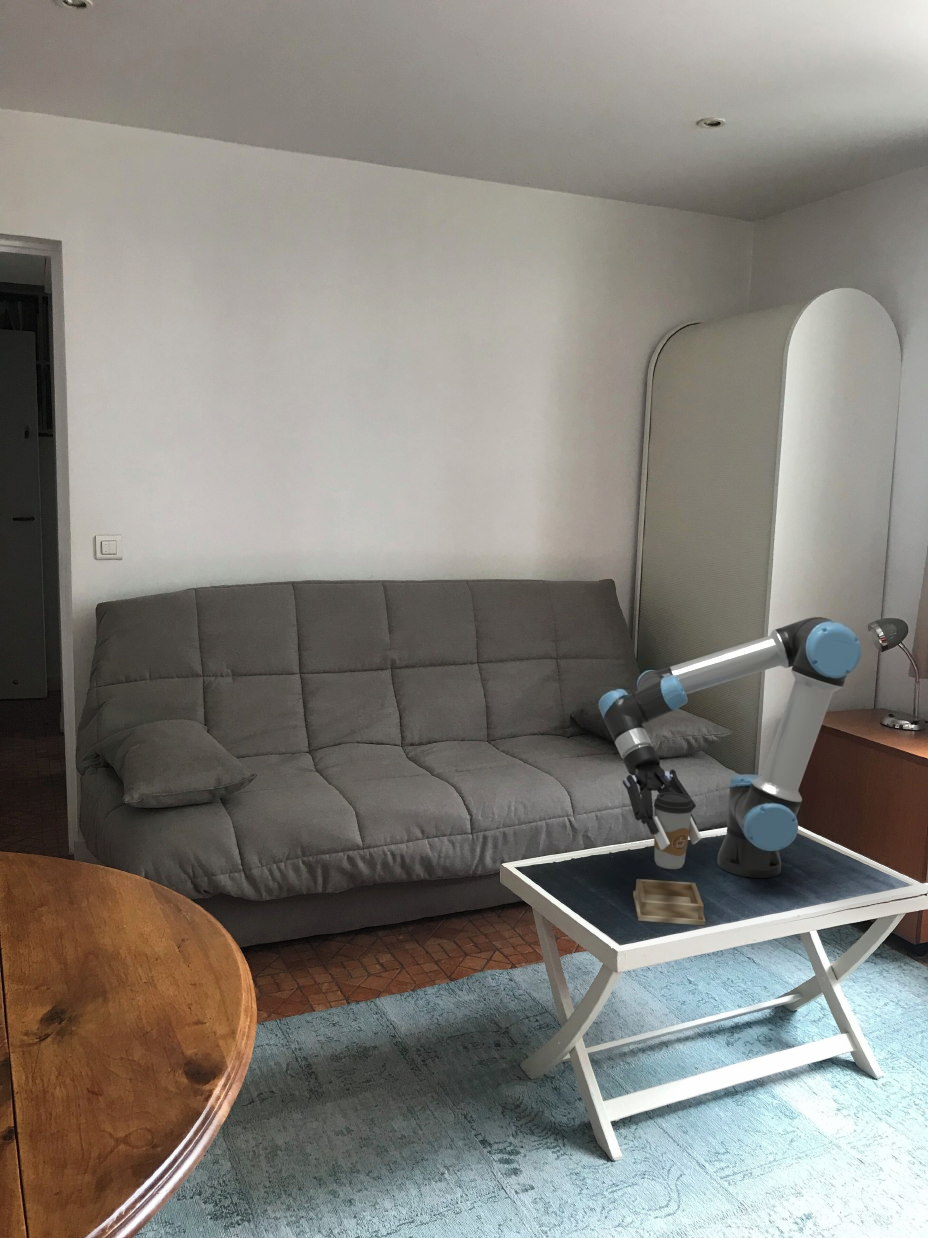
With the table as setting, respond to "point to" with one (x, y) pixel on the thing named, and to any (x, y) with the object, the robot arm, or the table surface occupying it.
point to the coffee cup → (673, 828)
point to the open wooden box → (668, 902)
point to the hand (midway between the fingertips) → (681, 844)
